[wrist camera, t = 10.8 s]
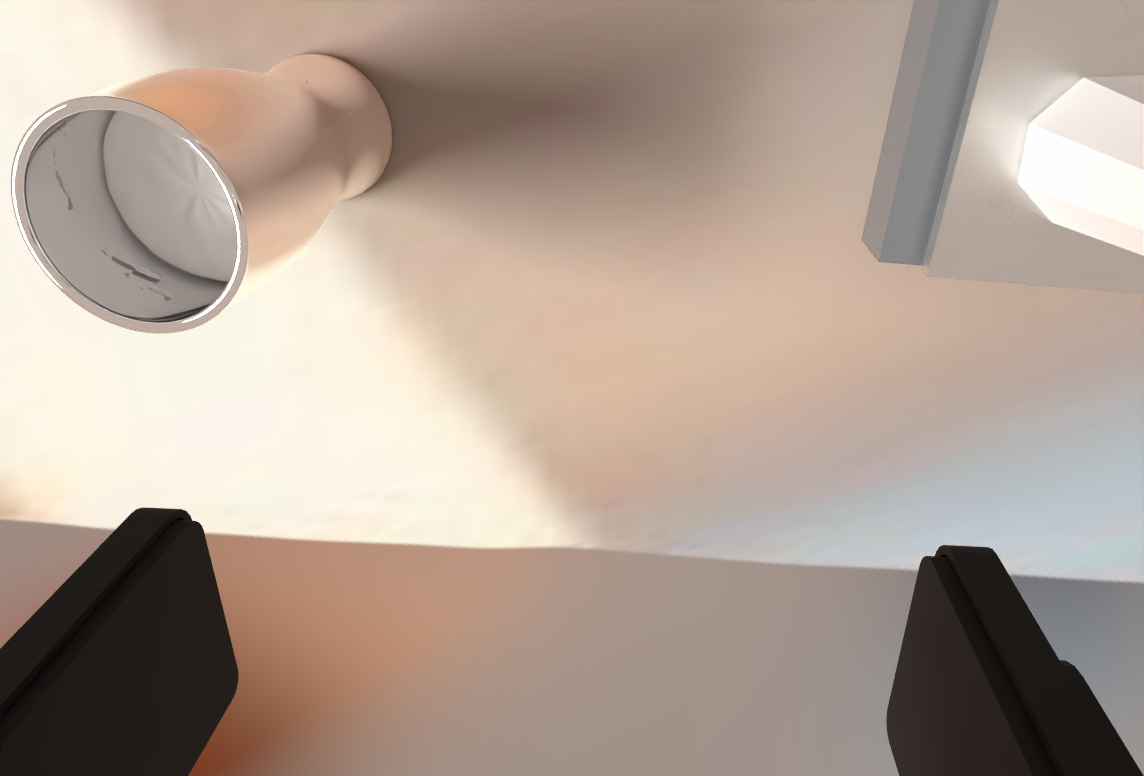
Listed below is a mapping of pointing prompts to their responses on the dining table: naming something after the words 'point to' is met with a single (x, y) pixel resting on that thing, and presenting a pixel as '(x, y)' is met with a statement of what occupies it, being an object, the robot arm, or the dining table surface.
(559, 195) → the dining table surface
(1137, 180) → the pepper shaker
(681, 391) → the dining table surface
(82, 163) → the beer glass
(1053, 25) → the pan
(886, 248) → the scale base
